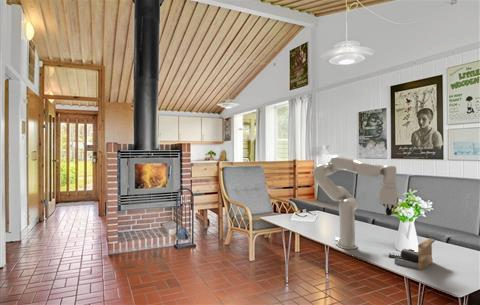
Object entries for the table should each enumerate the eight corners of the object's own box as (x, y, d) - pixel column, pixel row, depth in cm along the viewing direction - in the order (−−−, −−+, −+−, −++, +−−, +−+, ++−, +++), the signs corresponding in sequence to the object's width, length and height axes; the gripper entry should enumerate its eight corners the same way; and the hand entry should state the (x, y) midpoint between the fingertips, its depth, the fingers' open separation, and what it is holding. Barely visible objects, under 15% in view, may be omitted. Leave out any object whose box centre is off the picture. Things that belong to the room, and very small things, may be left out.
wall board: (418, 269, 161) (418, 245, 162) (428, 261, 174) (428, 238, 174) (425, 271, 159) (424, 246, 159) (435, 262, 171) (434, 239, 171)
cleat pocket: (394, 263, 170) (394, 258, 170) (406, 256, 183) (406, 251, 183) (418, 269, 161) (418, 263, 161) (428, 260, 174) (428, 255, 174)
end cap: (400, 261, 175) (400, 249, 175) (408, 259, 178) (408, 247, 178) (417, 266, 166) (417, 254, 166) (425, 264, 169) (425, 252, 169)
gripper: (374, 184, 191) (374, 213, 191) (399, 187, 179) (398, 218, 180) (380, 184, 196) (379, 212, 196) (404, 186, 184) (404, 216, 184)
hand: (388, 215), depth 188 cm, fingers closed
